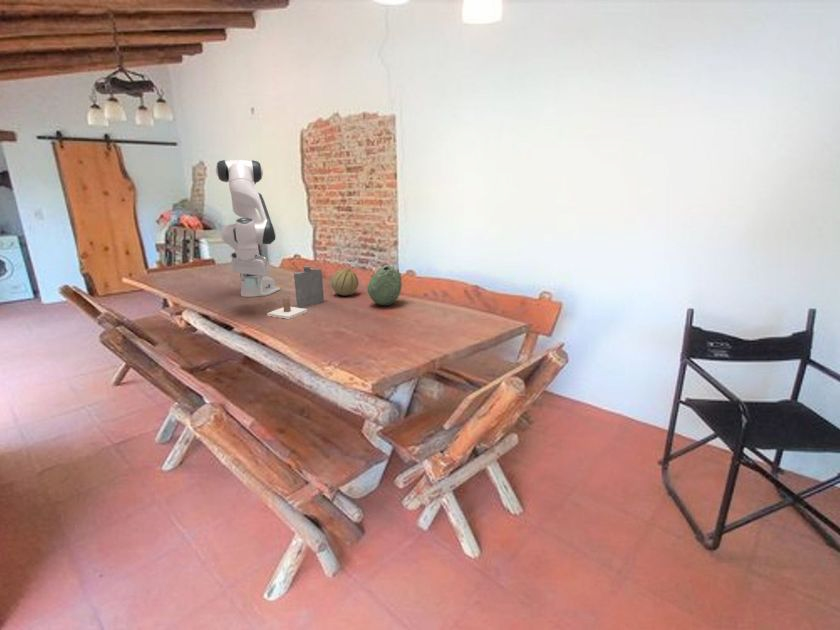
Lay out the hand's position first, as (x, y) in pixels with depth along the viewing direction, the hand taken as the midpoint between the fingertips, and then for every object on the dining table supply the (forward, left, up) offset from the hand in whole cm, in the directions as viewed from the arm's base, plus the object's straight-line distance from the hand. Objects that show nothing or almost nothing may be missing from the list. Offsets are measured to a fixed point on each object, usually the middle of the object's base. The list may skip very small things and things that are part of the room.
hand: (252, 283), depth 206 cm
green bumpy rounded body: (-39, +49, -15) cm, 64 cm away
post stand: (-6, +14, -15) cm, 21 cm away
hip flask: (-24, +13, -15) cm, 31 cm away
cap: (0, 0, -2) cm, 2 cm away
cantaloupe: (-47, +19, -15) cm, 53 cm away
